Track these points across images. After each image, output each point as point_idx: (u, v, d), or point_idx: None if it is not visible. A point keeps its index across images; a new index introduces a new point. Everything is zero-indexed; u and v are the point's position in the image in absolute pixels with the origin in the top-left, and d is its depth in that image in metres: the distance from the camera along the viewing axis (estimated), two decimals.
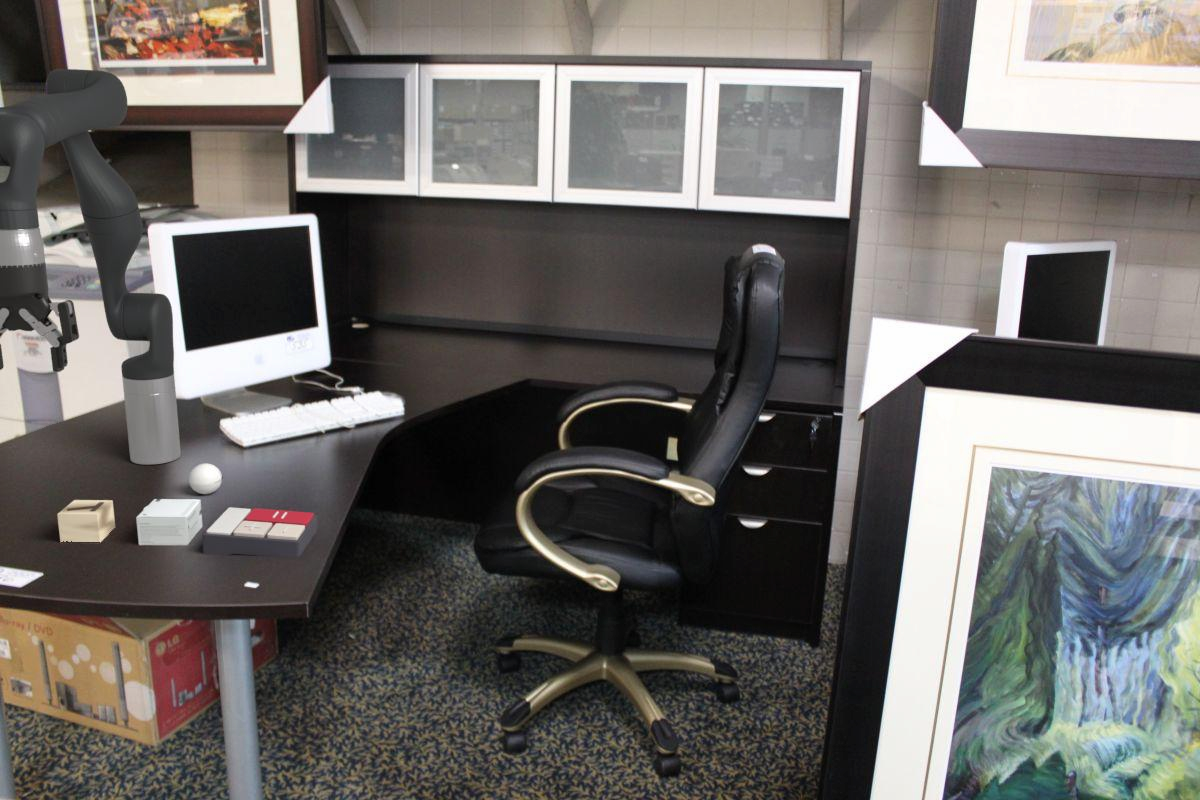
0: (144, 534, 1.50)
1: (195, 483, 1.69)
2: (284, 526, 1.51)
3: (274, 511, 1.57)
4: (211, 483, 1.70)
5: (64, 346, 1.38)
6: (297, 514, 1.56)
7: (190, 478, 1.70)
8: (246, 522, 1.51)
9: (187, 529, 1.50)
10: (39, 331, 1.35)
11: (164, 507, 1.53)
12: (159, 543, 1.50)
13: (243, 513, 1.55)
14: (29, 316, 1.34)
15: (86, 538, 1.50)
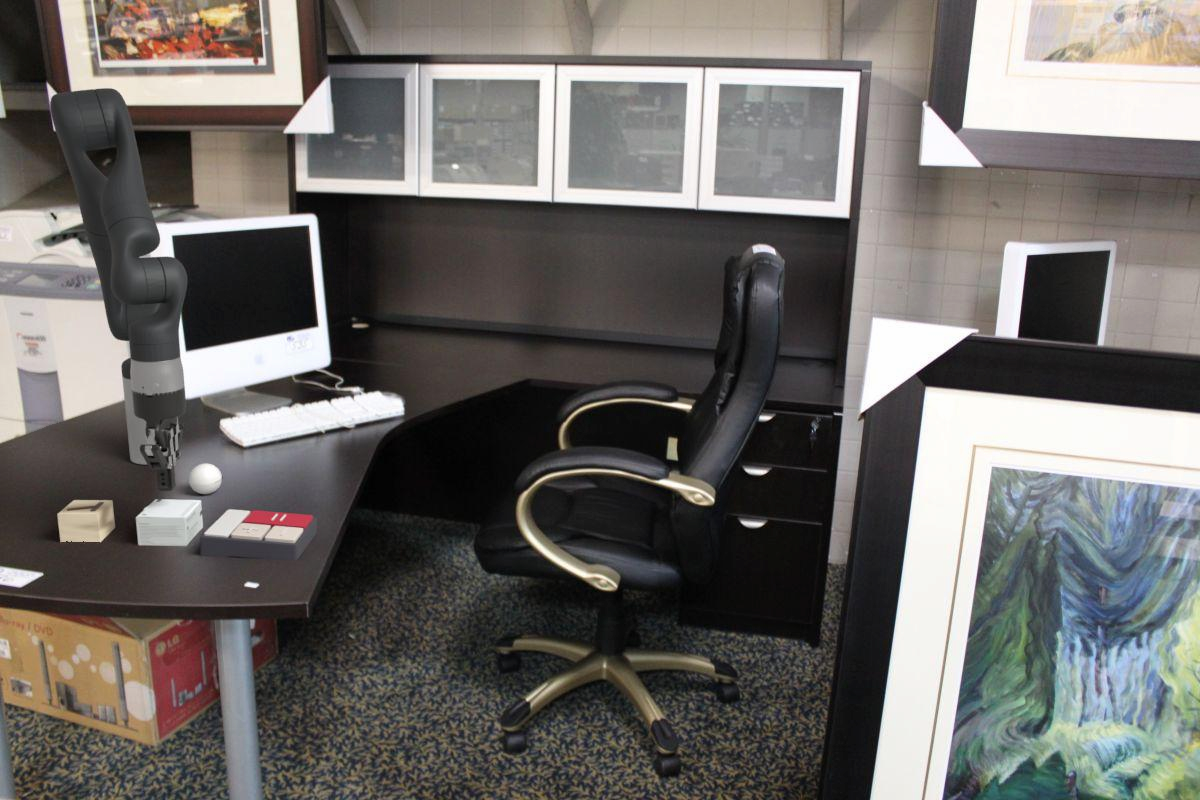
0: (143, 535, 1.50)
1: (195, 483, 1.69)
2: (282, 529, 1.50)
3: (273, 513, 1.56)
4: (210, 483, 1.70)
5: None
6: (296, 516, 1.55)
7: (190, 478, 1.70)
8: (244, 524, 1.51)
9: (186, 529, 1.50)
10: (176, 447, 1.51)
11: (164, 507, 1.52)
12: (158, 543, 1.50)
13: (242, 515, 1.55)
14: (178, 432, 1.51)
15: (86, 538, 1.50)
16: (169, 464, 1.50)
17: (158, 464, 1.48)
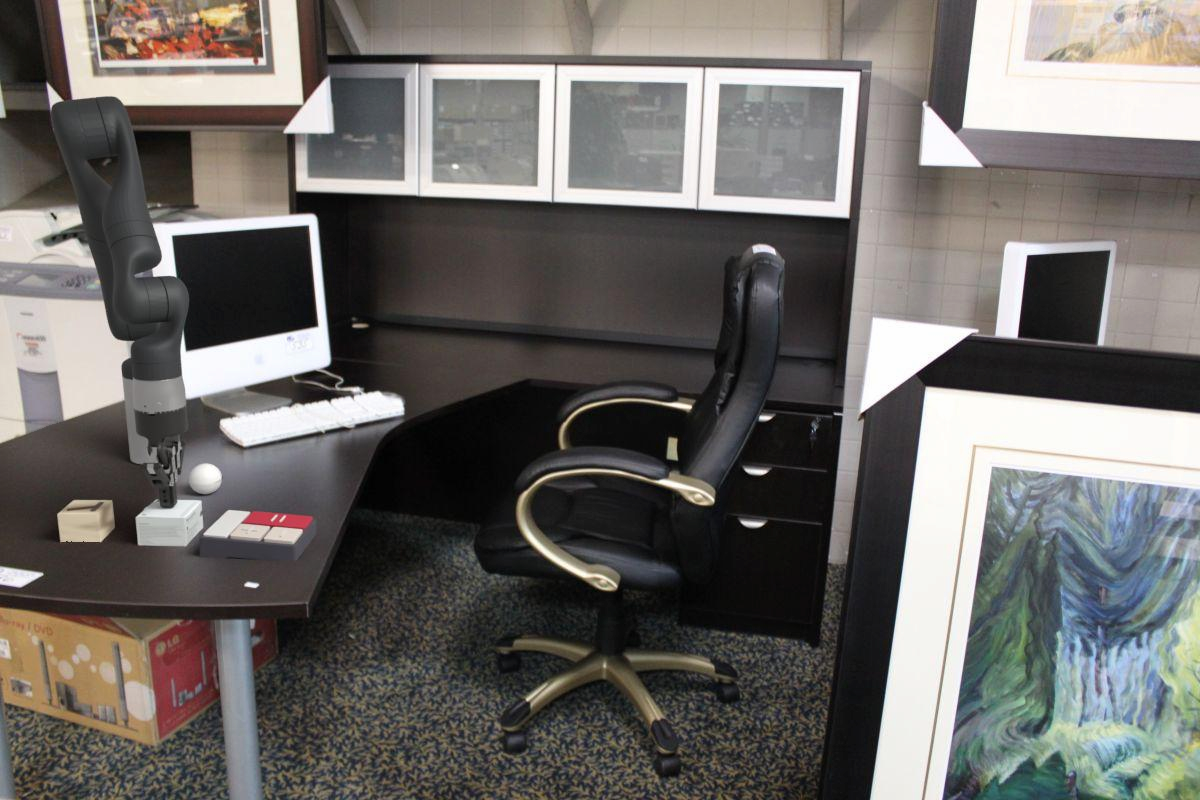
0: (143, 535, 1.50)
1: (195, 483, 1.69)
2: (281, 530, 1.50)
3: (273, 514, 1.55)
4: (210, 483, 1.70)
5: None
6: (296, 518, 1.55)
7: (190, 478, 1.70)
8: (244, 525, 1.50)
9: (185, 530, 1.50)
10: (178, 464, 1.52)
11: (164, 508, 1.52)
12: (158, 544, 1.50)
13: (242, 516, 1.54)
14: (180, 449, 1.52)
15: (86, 538, 1.50)
16: (171, 481, 1.50)
17: (160, 482, 1.48)
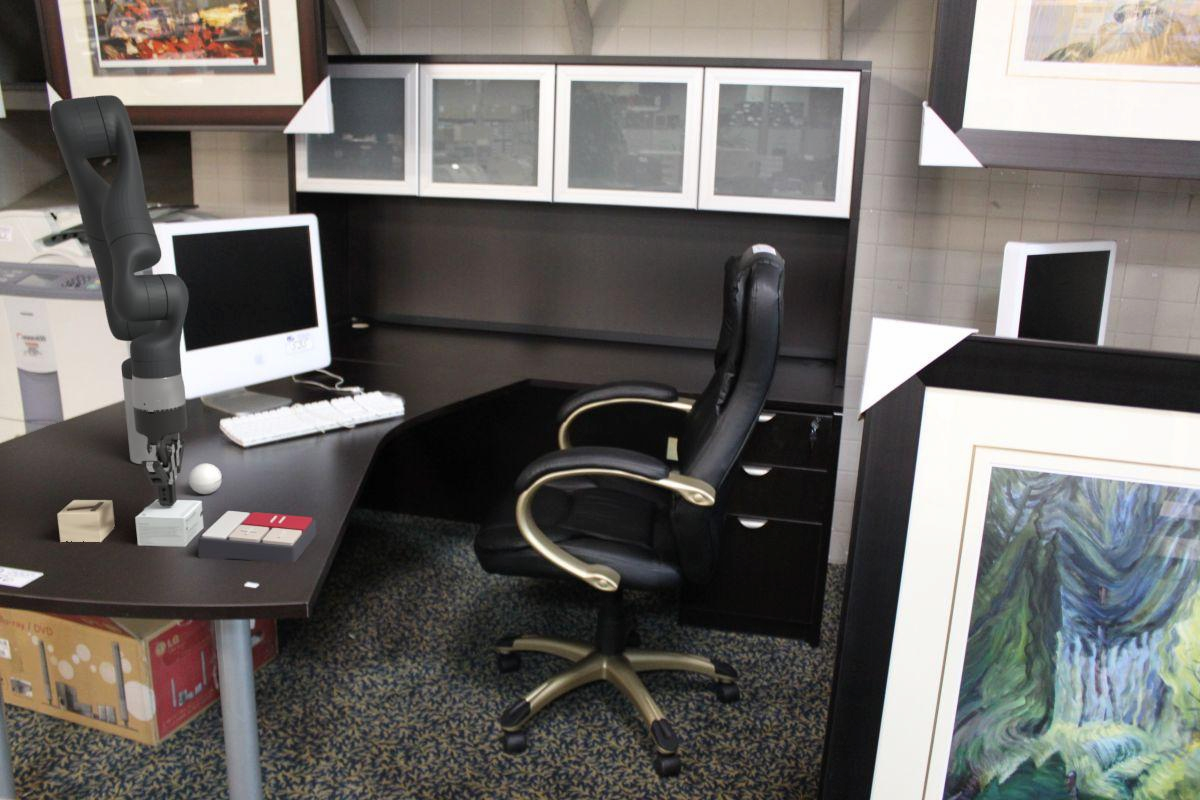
0: (142, 535, 1.50)
1: (195, 483, 1.69)
2: (280, 531, 1.49)
3: (272, 515, 1.55)
4: (210, 483, 1.70)
5: None
6: (295, 519, 1.54)
7: (190, 478, 1.70)
8: (243, 526, 1.50)
9: (185, 530, 1.50)
10: (177, 462, 1.52)
11: (164, 508, 1.52)
12: (158, 544, 1.50)
13: (241, 517, 1.54)
14: (179, 447, 1.52)
15: (86, 538, 1.50)
16: (170, 480, 1.50)
17: (159, 480, 1.48)
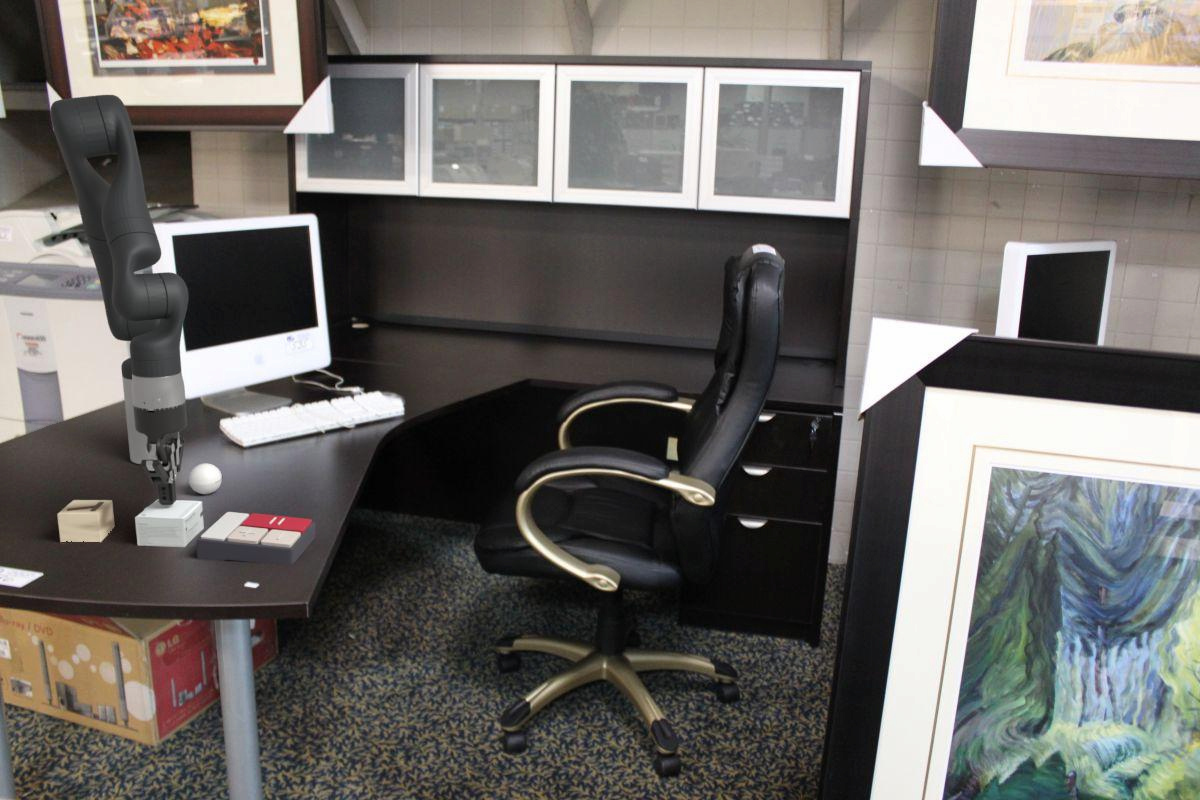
0: (142, 535, 1.50)
1: (195, 483, 1.69)
2: (279, 533, 1.49)
3: (272, 517, 1.54)
4: (211, 483, 1.70)
5: None
6: (295, 520, 1.54)
7: (190, 478, 1.70)
8: (242, 527, 1.49)
9: (184, 530, 1.50)
10: (177, 461, 1.52)
11: (164, 508, 1.52)
12: (157, 544, 1.50)
13: (241, 518, 1.53)
14: (179, 446, 1.52)
15: (86, 538, 1.50)
16: (170, 479, 1.50)
17: (159, 479, 1.48)
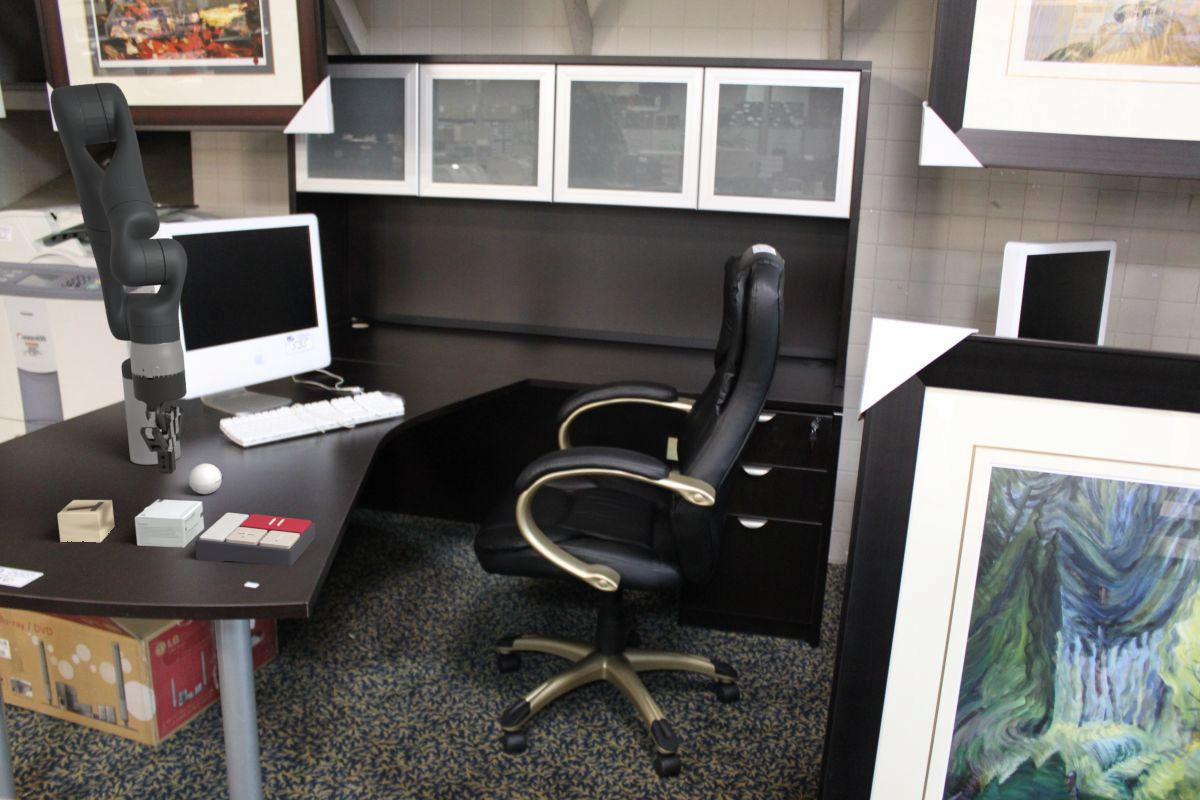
0: (142, 535, 1.49)
1: (195, 483, 1.69)
2: (278, 534, 1.48)
3: (271, 518, 1.54)
4: (211, 483, 1.70)
5: None
6: (294, 521, 1.53)
7: (190, 478, 1.70)
8: (241, 528, 1.49)
9: (184, 531, 1.49)
10: (176, 430, 1.50)
11: (164, 508, 1.52)
12: (157, 544, 1.50)
13: (240, 519, 1.53)
14: (178, 415, 1.51)
15: (86, 538, 1.50)
16: (169, 447, 1.49)
17: (158, 447, 1.47)
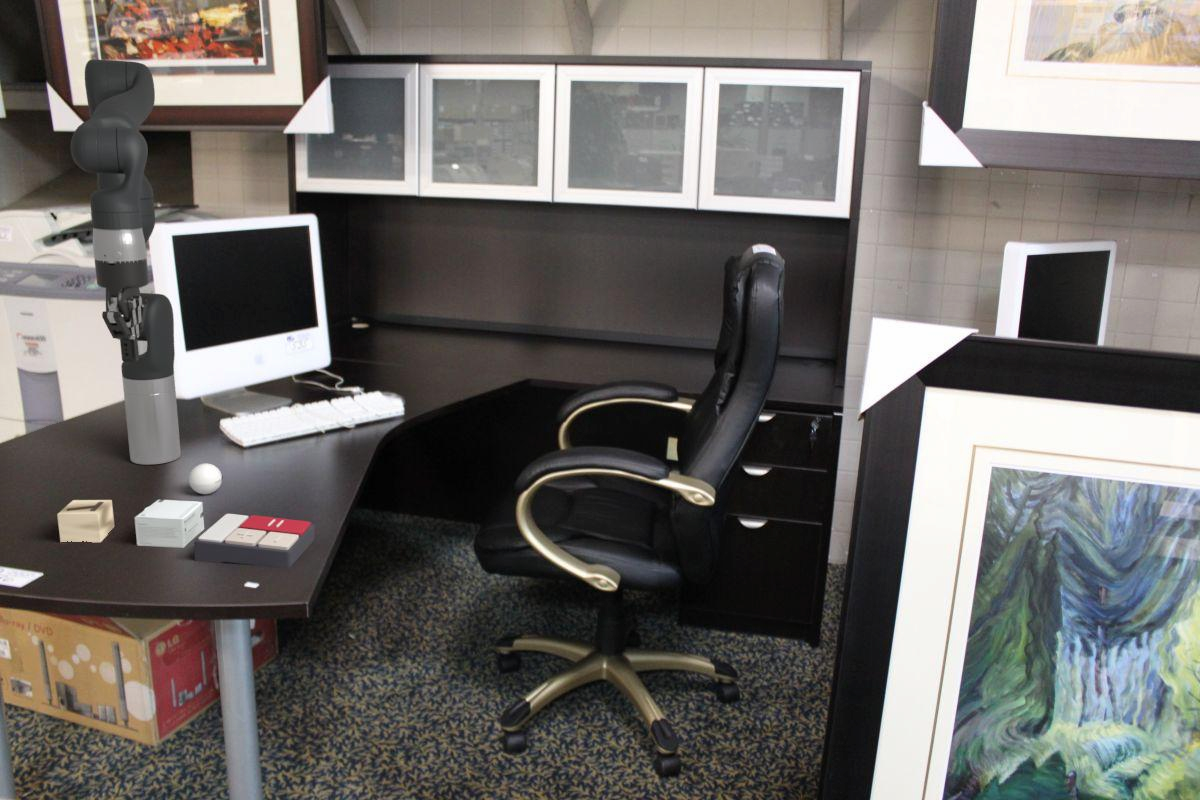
0: (141, 535, 1.49)
1: (195, 483, 1.69)
2: (277, 535, 1.48)
3: (271, 519, 1.54)
4: (211, 483, 1.70)
5: None
6: (293, 523, 1.53)
7: (190, 478, 1.70)
8: (240, 529, 1.49)
9: (183, 531, 1.49)
10: (139, 319, 1.55)
11: (164, 508, 1.52)
12: (156, 544, 1.50)
13: (240, 520, 1.53)
14: (141, 304, 1.55)
15: (86, 538, 1.50)
16: (132, 335, 1.54)
17: (121, 333, 1.52)
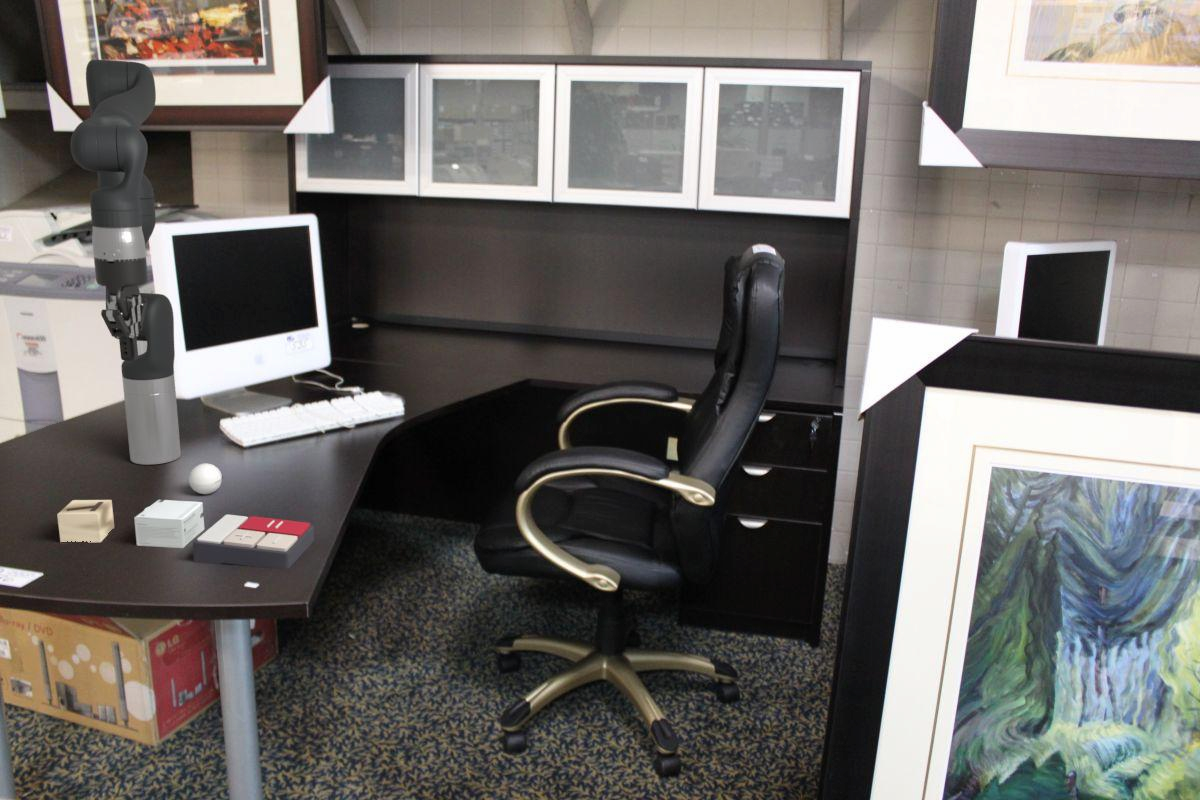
0: (141, 535, 1.49)
1: (195, 483, 1.69)
2: (276, 536, 1.48)
3: (270, 520, 1.53)
4: (211, 483, 1.70)
5: None
6: (293, 524, 1.52)
7: (190, 478, 1.70)
8: (239, 531, 1.48)
9: (182, 531, 1.49)
10: (138, 318, 1.55)
11: (164, 508, 1.52)
12: (156, 544, 1.50)
13: (239, 521, 1.52)
14: (140, 303, 1.55)
15: (86, 538, 1.50)
16: (131, 333, 1.53)
17: (120, 331, 1.51)
